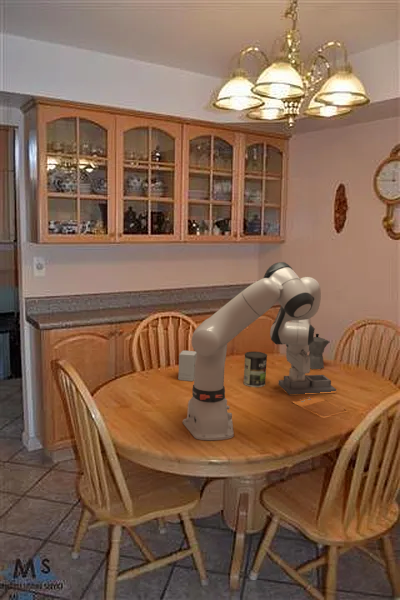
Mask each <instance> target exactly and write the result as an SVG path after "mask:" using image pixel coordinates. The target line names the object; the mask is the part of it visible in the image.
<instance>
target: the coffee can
mask: <svg viewBox="0 0 400 600" xmlns="http://www.w3.org/2000/svg"><path fill="white" fill-rule="evenodd" d="M267 360H268V354H267V353H265V352H261V351H248V352H247V351H246V352H245V353H244V364H243V366H244V370H243V385H244V386H247V387H250V388H263V387H264V386H266V379H267Z"/></svg>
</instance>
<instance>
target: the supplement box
mask: <svg viewBox="0 0 400 600" xmlns="http://www.w3.org/2000/svg"><path fill="white" fill-rule="evenodd" d="M196 356H197V352H195V350H181V352H179V354H178V376H177V377H178V380H179V381H185V382H194V369H195V362H196Z"/></svg>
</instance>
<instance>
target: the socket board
mask: <svg viewBox="0 0 400 600" xmlns="http://www.w3.org/2000/svg"><path fill="white" fill-rule="evenodd" d="M277 384H278V386H280V388H281V389H282V388H283V389H284V390H285V391H286V392H287V393H288V394H289V395H288V394H287V393H286V392H285V391H284V390H283V389H282V390H283V391H284V392H285V393H286V394H287V395H288V396H291V395H290V394H305V393H320V392H331V391H336V392H337V388H335V387H334V386H333V385H332V381H331V379H330V378H328V377H327V376H326V375H324V374H309V375H308V374H305V381H291V380H290V379H289V375H283V379H279V380H278V383H277Z"/></svg>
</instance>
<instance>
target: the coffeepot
mask: <svg viewBox="0 0 400 600" xmlns="http://www.w3.org/2000/svg"><path fill="white" fill-rule="evenodd" d="M319 336H320V334H319V333H315V336H314V337H313V338H314V341H313V342H312V343H311V344H310V345H309V352H308V354H307V355H308V356H309V357H310V368H311V369H310V370H313V369H321V368H323V369H325V366H324V365H325V364H324V356H323V354H324V351H325V349H326V347H327V345H328V344H330V343H331V342H330V340H327V339H325V338H323V337H319Z"/></svg>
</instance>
